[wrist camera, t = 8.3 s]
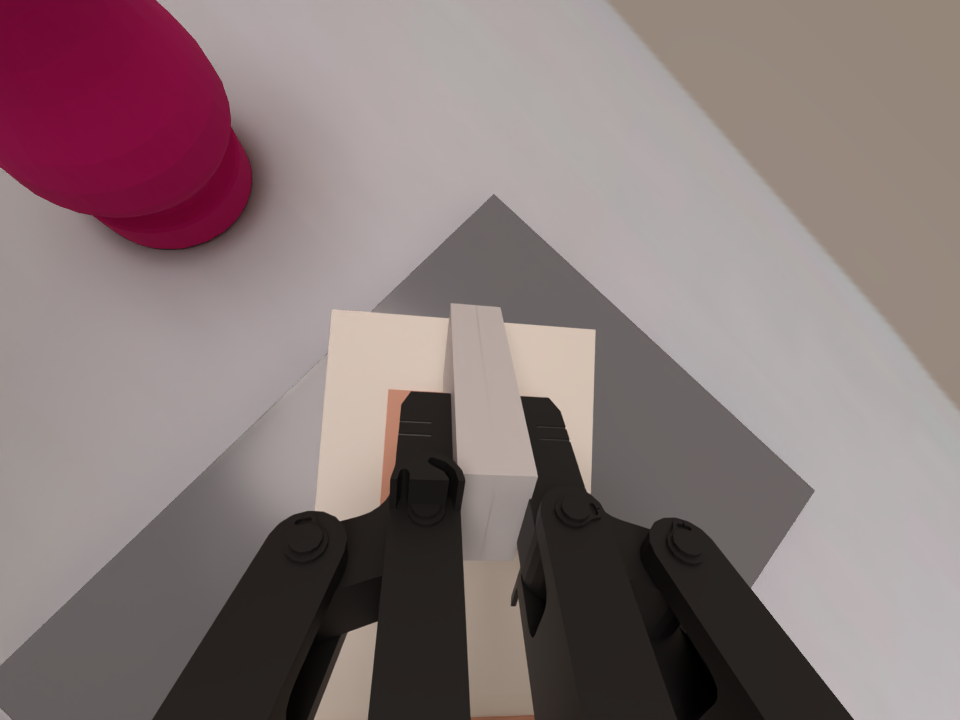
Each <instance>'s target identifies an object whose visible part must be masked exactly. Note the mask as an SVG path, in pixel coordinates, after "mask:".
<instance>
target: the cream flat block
mask: <svg viewBox="0 0 960 720" xmlns="http://www.w3.org/2000/svg"><path fill="white" fill-rule="evenodd" d="M448 324H449V318H438V317H425V316H412V315H399V314H386V313H373V312H360V311H347V310H334V309H332V314H331V325H330V337H329V349H328V361H327V372H326V384H325V396H324V408H323V419H322V431H321V443H320V455H319V466H318V478H317V490H316V502H315V511H324V512H326V513H328V514H330V515H333V516H335V517H336V518H337V519H338V520H339V521H343V520H347V519H350V518H354V517H358V516H361V515H364V514H366V513H369V512H371V511H373V510H374V509H376V508H377V507H379V506H380V505H381V504H382V503H383V502H384V501H385V500H386V499H387V497H388V496H389V494H390V478H391V475H392V472H393V470H394V467H395V461H396V451H397V441H398V432H399V423H400V412H401V404H402V403H403V401H404V400H405V399H406V397H407V396H408V395H409V393H410V392H411V391H418V392H436V393H443V372H444V362H445V353H446V343H447V334H448ZM504 326H505V330H506V335H507V339H508V344H509V348H510V353H511V357H512V362H513V366H514V371H515V375H516V380H517V384H518V389H519V393H520V396H530V397H547V398H550V400H551V401H552V402H553V403H554V404H555V405H556V406H557V408H558V409H559V410H560V411H561V414H562V417H563V420H564V423H565V426H566V427H565V429H567V432H568V436H569V442H571V445H572V448H573V451H574V454H575V457H576V461H577V464H578V467H579V470H580V473H581V476H582V479H583V482H584V486H585V488H586V491H587V493H589V494H591V469H592V435H593V401H594V366H595V332H596V330H593V329H580V328H567V327H554V326H541V325H528V324H515V323H504ZM463 569H464V590H465V611H466V632H467V653H468V674H469V694H470V696H475V695H510V694H531V688H530V681H529V674H528V666H527V659H526V652H525V644H524V637H523V630H522V622H521V615H520V608H519V600H518V601H517V604H516V606H511V595H512V592H513V589H514V586H515V583H516V579H517V576H518V573H519V570H520V561H519V555H518V548H517V550H516V553H515V557H514V560H513V561H463ZM377 624H378V622H375V623H372V624H369V625H367V626H364V627H361V628H358V629H355V630H353V631H350V632H348V633H347V636H346V638H345V641H344V643H343V646H342V648H341V651H340V654H339V656H338V659H337V661H336V664H335V666H334V669H333V672H332V674H331V677H330V679H329V682H328V684H327V687H326V690H325V692H324V695H323V697H322V700H338V699H370V693H371V683H372V673H373V663H374V653H375V644H376V634H377Z"/></svg>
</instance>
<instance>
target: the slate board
mask: <svg viewBox="0 0 960 720" xmlns="http://www.w3.org/2000/svg"><path fill="white" fill-rule="evenodd" d="M451 303H455V304H467V305H480V306H492V307H500V308H501V312H502V317H503V321H504V323H515V324H528V325H541V326H554V327H567V328H580V329H593V330H596V332H595V366H594V401H593V435H592V469H591V495H592V496H593V497H594V498H595V499H596V500H597V501H599V502H600V503H601V505H602V507H603V509H604V511H605V512H606V513H608V514H609V515H611V516H613V517H615V518H618V519H620V520H623V521H626V522H629V523H632V524H635V525H639V526H642V527H645V528H648V529H651V527H652V525H653V524H654V522H656V521H658V520H660V519H662V518H672V517H676V518H679V519H682V520H685V521H689V522H690V523H692V524H694V525H695V526H697V527H699V528H700V529H702V530H703V531H704V532H705V533H706V534H707V535H708V536H709V537H710V538H711V539H712V540H713V541H714V542H715V544H716V545H717V546H718V548H719V549H720V550H721V551H722V553H723V554H724V555H725V556H726V558H727V559H728V560H729V562H730V563H731V564H732V565H733V567H734V568H735V569H736V570H737V572H738V573H739V574H740V576H741V577H742V578H743V579H744V581H745V582H746V583H747V584H748V586H749V587H750V588H751V587H752V585H753V584H754V582H755V581H756V579H757V578H758V576H759V575H760V573H761V572H762V570H763V569H764V567H765V566H766V564H767V563H768V561H769V560H770V558H771V557H772V555H773V553H774V552H775V550H776V549H777V547H778V546H779V544H780V543H781V541H782V540H783V538H784V537H785V535H786V534H787V532H788V531H789V529H790V528H791V526H792V525H793V523H794V522H795V520H796V518H797V517H798V515H799V514H800V512H801V511H802V509H803V508H804V506H805V505H806V503H807V502H808V500H809V499H810V497H811V496H812V494H813V493H814V491H815V490H814V489H813V488H811V487H810V486H809V485H808V484H807V483H806V482H805V481H804V480H803V479H802V478H801V477H800V476H798V475H797V474H796V473H795V472H794V471H793V470H792V469H791V468H790V467H789V466H788V465H787V464H785V463H784V462H783V461H782V460H781V459H780V458H779V457H778V456H777V455H776V454H775V453H774V452H772V451H771V450H770V449H769V448H768V447H767V446H766V445H765V444H764V443H763V442H762V441H761V440H759V439H758V438H757V437H756V436H755V435H754V434H753V433H752V432H751V431H750V430H749V429H748V428H747V427H745V426H744V425H743V424H742V423H741V422H740V421H739V420H738V419H737V418H736V417H735V416H734V415H732V414H731V413H730V412H729V411H728V410H727V409H726V408H725V407H724V406H723V405H722V404H721V403H719V402H718V401H717V400H716V399H715V398H714V397H713V396H712V395H711V394H710V393H709V392H708V391H706V390H705V389H704V388H703V387H702V386H701V385H700V384H699V383H698V382H697V381H696V380H695V379H693V378H692V377H691V376H690V375H689V374H688V373H687V372H686V371H685V370H684V369H683V368H682V367H680V366H679V365H678V364H677V363H676V362H675V361H674V360H673V359H672V358H671V357H670V356H669V355H668V354H666V353H665V352H664V351H663V350H662V349H661V348H660V347H659V346H658V345H657V344H656V343H655V342H653V341H652V340H651V339H650V338H649V337H648V336H647V335H646V334H645V333H644V332H643V331H642V330H640V329H639V328H638V327H637V326H636V325H635V324H634V323H633V322H632V321H631V320H630V319H629V318H627V317H626V316H625V315H624V314H623V313H622V312H621V311H620V310H619V309H618V308H617V307H616V306H614V305H613V304H612V303H611V302H610V301H609V300H608V299H607V298H606V297H605V296H604V295H603V294H601V293H600V292H599V291H598V290H597V289H596V288H595V287H594V286H593V285H592V284H591V283H590V282H589V281H587V280H586V279H585V278H584V277H583V276H582V275H581V274H580V273H579V272H578V271H577V270H576V269H574V268H573V267H572V266H571V265H570V264H569V263H568V262H567V261H566V260H565V259H564V258H563V257H561V256H560V255H559V254H558V253H557V252H556V251H555V250H554V249H553V248H552V247H551V246H550V245H548V244H547V243H546V242H545V241H544V240H543V239H542V238H541V237H540V236H539V235H538V234H537V233H535V232H534V231H533V230H532V229H531V228H530V227H529V226H528V225H527V224H526V223H525V222H524V221H523V220H521V219H520V218H519V217H518V216H517V215H516V214H515V213H514V212H513V211H512V210H511V209H510V208H508V207H507V206H506V205H505V204H504V203H503V202H502V201H501V200H500V199H499V198H498V197H497V196H495V195H494V194H493V195H492V196H491V197H490V198H489V199H488V200H487V201H486V202H485V203H484V204H483V205H482V206H481V207H480V208H479V209H478V210H477V211H476V212H475V213H474V214H473V215H471V216H470V217H469V218H468V219H467V220H466V221H465V222H464V223H463V224H462V225H461V226H460V227H459V228H458V229H457V230H456V231H455V232H454V233H453V234H452V235H451V236H449V237H448V238H447V239H446V240H445V241H444V242H443V243H442V244H441V245H440V246H439V247H438V248H437V249H436V250H435V251H434V252H433V253H432V254H431V255H430V256H429V257H428V258H426V259H425V260H424V261H423V262H422V263H421V264H420V265H419V266H418V267H417V268H416V269H415V270H414V271H413V272H412V273H411V274H410V275H409V276H408V277H407V278H406V279H405V280H403V281H402V282H401V283H400V284H399V285H398V286H397V287H396V288H395V289H394V290H393V291H392V292H391V293H390V294H389V295H388V296H387V297H386V298H385V299H384V300H383V301H382V302H380V303H379V304H378V305H377V306H376V307H375V308H374V309H373V310H372V311H371V312H373V313H386V314H399V315H412V316H425V317H438V318H449V315H450V305H451ZM327 361H328V353H327V354H326V355H325V356H324V357H323V358H322V359H321V360H320V361H319V362H318V363H317V364H316V365H315V366H314V367H312V368H311V369H310V370H309V371H308V372H307V373H306V374H305V375H304V376H303V377H302V378H301V379H300V380H299V381H298V382H297V383H296V384H295V385H294V386H293V387H292V388H291V389H289V390H288V391H287V392H286V393H285V394H284V395H283V396H282V397H281V398H280V399H279V400H278V401H277V402H276V403H275V404H274V405H273V406H272V407H271V408H270V409H269V410H268V411H266V412H265V413H264V414H263V415H262V416H261V417H260V418H259V419H258V420H257V421H256V422H255V423H254V424H253V425H252V426H251V427H250V428H249V429H248V430H247V431H246V432H244V433H243V434H242V435H241V436H240V437H239V438H238V439H237V440H236V441H235V442H234V443H233V444H232V445H231V446H230V447H229V448H228V449H227V450H226V451H225V452H224V453H223V454H221V455H220V456H219V457H218V458H217V459H216V460H215V461H214V462H213V463H212V464H211V465H210V466H209V467H208V468H207V469H206V470H205V471H204V472H203V473H202V474H201V475H200V476H198V477H197V478H196V479H195V480H194V481H193V482H192V483H191V484H190V485H189V486H188V487H187V488H186V489H185V490H184V491H183V492H182V493H181V494H180V495H179V496H178V497H177V498H175V499H174V500H173V501H172V502H171V503H170V504H169V505H168V506H167V507H166V508H165V509H164V510H163V511H162V512H161V513H160V514H159V515H158V516H157V517H156V518H155V519H153V520H152V521H151V522H150V523H149V524H148V525H147V526H146V527H145V528H144V529H143V530H142V531H141V532H140V533H139V534H138V535H137V536H136V537H135V538H134V539H133V540H132V541H130V542H129V543H128V544H127V545H126V546H125V547H124V548H123V549H122V550H121V551H120V552H119V553H118V554H117V555H116V556H115V557H114V558H113V559H112V560H111V561H110V562H109V563H107V564H106V565H105V566H104V567H103V568H102V569H101V570H100V571H99V572H98V573H97V574H96V575H95V576H94V577H93V578H92V579H91V580H90V581H89V582H88V583H87V584H86V585H84V586H83V587H82V588H81V589H80V590H79V591H78V592H77V593H76V594H75V595H74V596H73V597H72V598H71V599H70V600H69V601H68V602H67V603H66V604H65V605H64V606H62V607H61V608H60V609H59V610H58V611H57V612H56V613H55V614H54V615H53V616H52V617H51V618H50V619H49V620H48V621H47V622H46V623H45V624H44V625H43V626H42V627H41V628H39V629H38V630H37V631H36V632H35V633H34V634H33V635H32V636H31V637H30V638H29V639H28V640H27V641H26V642H25V643H24V644H23V645H22V646H21V647H20V648H19V649H18V650H16V651H15V652H14V653H13V654H12V655H11V656H10V657H9V658H8V659H7V660H6V661H5V662H4V663H3V664H2V665H1V666H0V708H1V709H2V710H3V711H4V712H5V713H6V714H7V715H8V716H9V717H10V718H11V719H12V720H152V719H153V717H154V716H155V714H156V712H157V711H158V709H159V708H160V706H161V705H162V703H163V701H164V700H165V698H166V697H167V695H168V693H169V692H170V690H171V689H172V687H173V686H174V684H175V682H176V681H177V679H178V678H179V676H180V674H181V673H182V671H183V670H184V668H185V667H186V665H187V663H188V662H189V660H190V659H191V657H192V655H193V654H194V652H195V651H196V649H197V648H198V646H199V644H200V643H201V641H202V640H203V638H204V636H205V635H206V633H207V632H208V630H209V629H210V627H211V625H212V624H213V622H214V621H215V619H216V617H217V616H218V614H219V613H220V611H221V610H222V608H223V606H224V605H225V603H226V602H227V600H228V598H229V597H230V595H231V594H232V592H233V591H234V589H235V587H236V586H237V584H238V583H239V581H240V579H241V578H242V576H243V575H244V573H245V572H246V570H247V568H248V567H249V565H250V564H251V562H252V560H253V559H254V557H255V556H256V554H257V553H258V551H259V549H260V548H261V546H262V545H263V543H264V541H265V540H266V538H267V537H268V535H269V534H270V533H271V532H272V530H273V529H274V528H275V527H276V526H277V525H278V524H279V523H280V522H282V521H283V520H285V519H287V518H288V517H290V516H292V515H294V514H298V513H301V512H305V511H315V502H316V490H317V478H318V466H319V455H320V443H321V431H322V419H323V408H324V396H325V384H326V372H327Z"/></svg>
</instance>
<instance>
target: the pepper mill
mask: <svg viewBox="0 0 960 720" xmlns="http://www.w3.org/2000/svg"><path fill="white" fill-rule="evenodd" d="M0 167H1V168H2V169H3V170H5V171H6V172H7V173H8V174H10V175H11V176H12V177H13V178H14V179H16V180H17V181H18V182H19V183H21V184H22V185H23V186H25V187H26V188H28V189H29V190H30V191H32V192H33V193H34V194H36V195H38V196H40V197H42V198H44V199H46V200H48V201H50V202H52V203H54V204H56V205H58V206H61V207H64V208H67V209H70V210H72V211H75V212H78V213H83V214H88V215H93V216H94V217H95V218H97V219H98V220H99V221H101V222H102V223H103V224H105V225H106V226H108V227H109V228H110V229H112V230H113V231H114V232H116V233H118V234H119V235H121V236H123V237H124V238H126V239H128V240H130V241H132V242H135V243H137V244H140V245H143V246H147V247H152V248H160V249H179V248H187V247H191V246H194V245H197V244H200V243H204V242H207V241H209V240H211V239H212V238H214V237H216V236H218V235H219V234H221V233H223V232H224V231H226V230H227V229H228V228H229V227H230V226H231V225H232V224H233V223H234V222H235V221H236V219H237V218H238V217H239V216H240V214H241V213H242V211H243V209H244V207H245V206H246V204H247V201H248V199H249V195H250V192H251V183H252V172H251V166H250V162H249V159H248V157H247V154H246V152H245V150H244V148H243V147H242V145H241V143H240V142H239V140H238V138H237V136H236V135H235V133H234V131H233V129H232V128H231V116H230V108H229V101H228V99H227V96H226V93H225V90H224V87H223V84H222V81H221V80H220V78H219V76H218V75H217V73H216V71H215V69H214V68H213V66H212V65H211V63H210V61H209V60H208V58H207V57H206V55H205V54H204V52H203V51H202V49H201V48H200V46H199V45H198V43H197V42H196V40H195V39H194V38H193V37H192V36H191V35H190V34H189V33H188V32H187V31H186V29H185V28H184V27H183V26H182V25H181V24H180V23H179V22H178V21H177V20H176V19H175V18H174V17H173V16H172V15H171V14H170V13H169V12H168V11H167V10H166V9H165V8H164V7H163V6H161V5H160V4H159V3H158V2H157V1H156V0H0Z"/></svg>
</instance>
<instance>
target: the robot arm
mask: <svg viewBox="0 0 960 720" xmlns="http://www.w3.org/2000/svg"><path fill="white" fill-rule="evenodd" d="M565 427H566V426H565V423H564V420H563V417H562V414H561V411H560V410H559V409H558V408H557V406H556V405H555V404H554V403H553V402H552V401H551V400H550V398H547V397H530V396H520V393H519V389H518V384H517V380H516V375H515V371H514V366H513V362H512V357H511V353H510V348H509V344H508V339H507V335H506V330H505V326H504V321H503V317H502V312H501V308H500V307H492V306H480V305H467V304H455V303H451V305H450V315H449V324H448V334H447V343H446V353H445V362H444V372H443V393H436V392H418V391H411V392H410V393H409V395H408V396H407V397H406V399H405V400H404V401H403V403H402V404H401V412H400V423H399V432H398V441H397V451H396V461H395V467H394V470H393V472H392V475H391V478H390V494H389V496H388V497H387V499H386V500H385V501H384V502H383V503H382V504H381V505H380V506H379V507H377V508H376V509H374V510H373V511H371V512H369V513H366V514H364V515H361V516H358V517H354V518H350V519H347V520H343V521H339V520H338V519H337V518H336V517H335V516H333V515H330V514H328V513H326V512H324V511H305V512H301V513H298V514H294V515H292V516H290V517H288V518H287V519H285V520H283V521H282V522H280V523H279V524H278V525H277V526H276V527H275V528H274V529H273V530H272V532H271V533H270V534H269V535H268V537H267V538H266V540H265V541H264V543H263V545H262V546H261V548H260V549H259V551H258V553H257V554H256V556H255V557H254V559H253V560H252V562H251V564H250V565H249V567H248V568H247V570H246V572H245V573H244V575H243V576H242V578H241V579H240V581H239V583H238V584H237V586H236V587H235V589H234V591H233V592H232V594H231V595H230V597H229V598H228V600H227V602H226V603H225V605H224V606H223V608H222V610H221V611H220V613H219V614H218V616H217V617H216V619H215V621H214V622H213V624H212V625H211V627H210V629H209V630H208V632H207V633H206V635H205V636H204V638H203V640H202V641H201V643H200V644H199V646H198V648H197V649H196V651H195V652H194V654H193V655H192V657H191V659H190V660H189V662H188V663H187V665H186V667H185V668H184V670H183V671H182V673H181V674H180V676H179V678H178V679H177V681H176V682H175V684H174V686H173V687H172V689H171V690H170V692H169V693H168V695H167V697H166V698H165V700H164V701H163V703H162V705H161V706H160V708H159V709H158V711H157V712H156V714H155V716H154V717H153V719H152V720H314V718H315V715H316V713H317V710H318V708H319V705H320V702H321V700H322V697H323V695H324V692H325V690H326V687H327V684H328V682H329V679H330V677H331V674H332V672H333V669H334V666H335V664H336V661H337V659H338V656H339V654H340V651H341V648H342V646H343V643H344V641H345V638H346V636H347V633H348V632H350V631H353V630H355V629H358V628H361V627H364V626H367V625H369V624H372V623H375V622H378V624H377V634H376V644H375V653H374V663H373V673H372V683H371V693H370V702H369V712H368V720H471V715H470V694H469V674H468V653H467V632H466V611H465V590H464V569H463V561H513V560H514V557H515V553H516V550H517V548H518V555H519V561H520V570H519V573H518V576H517V579H516V583H515V586H514V589H513V592H512V595H511V606H516V604H517V601H518V600H519V608H520V615H521V622H522V630H523V637H524V644H525V652H526V659H527V666H528V674H529V681H530V688H531V696H532V703H533V710H534V718H535V720H854V719H853V718H852V717H851V715H850V714H849V713H848V712H847V710H846V709H845V708H844V707H843V705H842V704H841V703H840V701H839V700H838V699H837V698H836V696H835V695H834V694H833V693H832V691H831V690H830V689H829V687H828V686H827V685H826V684H825V682H824V681H823V680H822V679H821V677H820V676H819V675H818V673H817V672H816V671H815V670H814V668H813V667H812V666H811V665H810V663H809V662H808V661H807V659H806V658H805V657H804V656H803V654H802V653H801V652H800V651H799V649H798V648H797V647H796V645H795V644H794V643H793V642H792V640H791V639H790V638H789V637H788V635H787V634H786V633H785V631H784V630H783V629H782V628H781V626H780V625H779V624H778V623H777V621H776V620H775V619H774V618H773V616H772V615H771V614H770V612H769V611H768V610H767V609H766V607H765V606H764V605H763V604H762V602H761V601H760V600H759V598H758V597H757V596H756V595H755V593H754V592H753V591H752V590H751V588H750V587H749V586H748V584H747V583H746V582H745V581H744V579H743V578H742V577H741V576H740V574H739V573H738V572H737V570H736V569H735V568H734V567H733V565H732V564H731V563H730V562H729V560H728V559H727V558H726V556H725V555H724V554H723V553H722V551H721V550H720V549H719V548H718V546H717V545H716V544H715V542H714V541H713V540H712V539H711V538H710V537H709V536H708V535H707V534H706V533H705V532H704V531H703V530H702V529H700V528H699V527H697V526H695V525H694V524H692V523H690V522H689V521H685V520H682V519H679V518H676V517H672V518H662V519H660V520H658V521H656V522H654V524H653V525H652V527H651V529H648V528H645V527H642V526H639V525H635V524H632V523H629V522H626V521H623V520H620V519H618V518H615V517H613V516H611V515H609V514H608V513H606V512H605V511H604V509H603V507H602V505H601V503H600V502H599V501H597V500H596V499H595V498H594V497H593V496H592V495H591V494H589V493H587V491H586V488H585V486H584V482H583V479H582V476H581V473H580V470H579V467H578V464H577V461H576V457H575V454H574V451H573V448H572V445H571V442H569V436H568V432H567V429H565Z"/></svg>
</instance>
